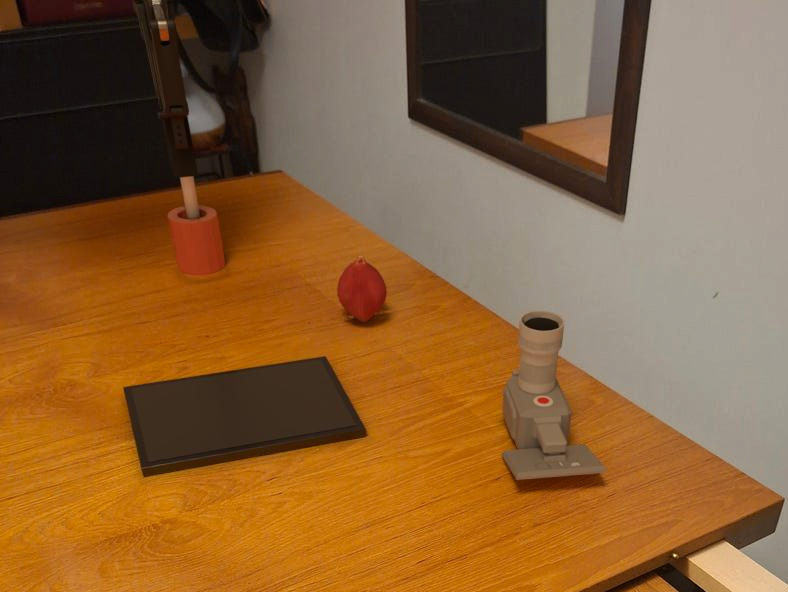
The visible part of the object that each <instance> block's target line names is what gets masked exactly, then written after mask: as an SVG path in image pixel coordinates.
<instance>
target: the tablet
mask: <svg viewBox="0 0 788 592" xmlns="http://www.w3.org/2000/svg"><path fill="white" fill-rule="evenodd" d="M122 390H123V395H124V398H125V403H126V407H127V412H128V416H129V420H130V425H131V430H132V434H133V438H134V443H135V447H136V451H137V456H138V461H139V465H140V469H141V473H142V476H143V477H144V478H146V477H150V476H156V475H161V474H167V473H172V472H178V471H183V470H188V469H189V470H190V469H193V468H194V469H195V468H199V467H206V466H211V465H217V464H222V463H228V462H233V461H238V460H244V459H245V460H246V459H249V458H255V457H260V456H265V455H273V454H278V453H284V452H288V451H294V450H299V449H305V448H311V447H316V446H317V447H318V446H321V445H328V444H332V443H338V442H339V443H340V442H343V441H349V440H355V439H360V438H366V437H367V428H366V427H365V425H364V422H363V421H362V419H361V418H360V415H359V413H358V412H357V410H356V408H355V406H354V404H353V403H352V401H351V399H350V398H349V397H350V396H348V394H347V392H346V390H345V388H344V387H343V385H342V382H341V381H340V379H339V377H338V376H337V374H336V372H335V371H334V369H333V367H332V365H331V363H330V362H329V359H328V358H327V356H326V355H324V356H323V355H322V356H317V357H310V358H304V359H298V360H290V361H285V362H278V363H277V362H276V363H272V364H265V365H259V366H251V367H245V368H238V369H232V370H225V371H219V372H214V373H213V372H212V373H206V374H199V375H193V376H186V377H181V378H180V377H179V378H171V379H166V380H160V381H153V382H146V383H140V384H134V385H133V384H132V385H127V386H123V387H122Z"/></svg>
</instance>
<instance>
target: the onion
mask: <svg viewBox="0 0 788 592" xmlns="http://www.w3.org/2000/svg"><path fill="white" fill-rule="evenodd" d="M356 257H357V258H356V259H355V260H354V261H353V262H351V263H349V265H348V266H347V267H345V268H344V270H343V271H342V273H341V275H340V276H339V279H338V283H337V287H336V291H337V293H336V294H337V298H338V301H339V303H340V304H341V306H342V307H343V309H344V310H345V312H347V313H348V314H349V315H351V316H352V317H354V318H355V319H357V320H358V321H359V322H361V323H366V322H368V321H370V320H371V318H373V316H375V315H376V314H377V313H378V312H379V311H380V310H381V309H382V307H384V304H385V302H386V299H387V295H388V293H387V285H386V282H385V279H384V278H383V276H382V275H381V273H380V271H378V269H377V268H376V267H375V266H373V265H372V264H370V263H369V262H367V261H366V259H365V256H364V255H358V256H356Z"/></svg>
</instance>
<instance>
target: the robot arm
mask: <svg viewBox="0 0 788 592" xmlns="http://www.w3.org/2000/svg"><path fill="white" fill-rule="evenodd" d="M132 6H133V10H134V12H135V15H136V16H137V19H138V24H139V30H140V33H141V37H142V40H143V42H144V43H145V47H146V52H147V57H148V61H149V67H150V71H151V76H152V80H153V85H154V96H155V97H156V99H158V100H157V105H158V106H159V108H160V109H161V110H160V111H159V112H157V117H158V120H161V122H162V126H163V131H164V136H165V141H166V146H167V152H168V154H169V155H168V156H169V161H170V166H171V167H170V168H171V170H172V172H173V173H174V178H175V179H180V178H181V177H191V176H193V177H198V176H199V173H198V172H199V171H198V167H197V161H196V155H195V151H194V144H193V138H192V133H191V128H190V123H189V114H190V109H189V108H190V107H189V104H188V103H189V102H188V101H187V96H186V90H185V84H184V83H185V82H184V78H183V71H182V65H181V60H180V59H181V58H180V52H179V41H178V40H179V39H178V35H177V25H176V22H175V19H176V12H175V6H174V2H173V0H132Z"/></svg>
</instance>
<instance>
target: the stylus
mask: <svg viewBox="0 0 788 592" xmlns="http://www.w3.org/2000/svg"><path fill="white" fill-rule="evenodd" d="M179 180H180V186H181V191H182V196H183V201H184V206H185V208H186V213H187V219H190V220H191V219H199V218H200V213H199V207H198V206H199V202H198V196H197V190H196V184H195V177H194V176H191V177H181V178H179Z"/></svg>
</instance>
